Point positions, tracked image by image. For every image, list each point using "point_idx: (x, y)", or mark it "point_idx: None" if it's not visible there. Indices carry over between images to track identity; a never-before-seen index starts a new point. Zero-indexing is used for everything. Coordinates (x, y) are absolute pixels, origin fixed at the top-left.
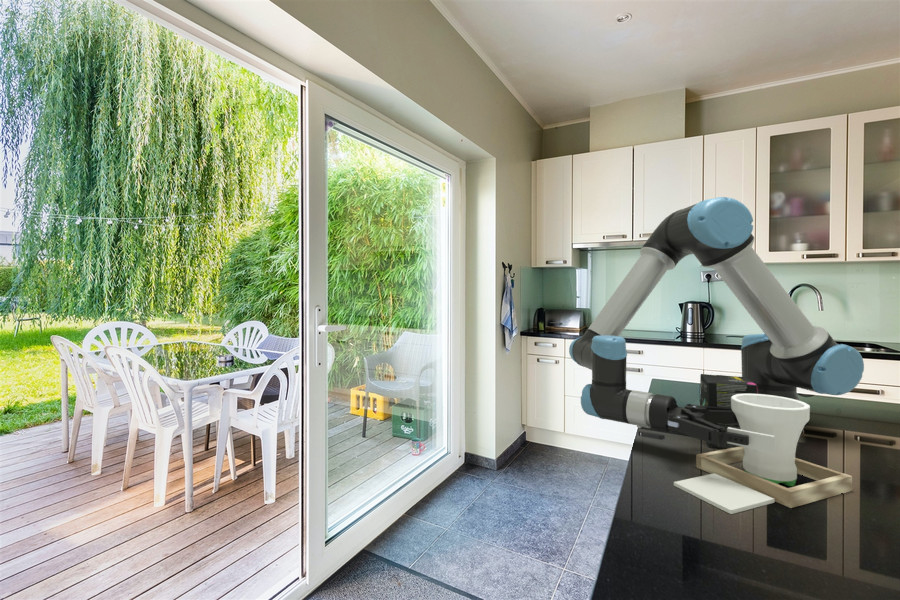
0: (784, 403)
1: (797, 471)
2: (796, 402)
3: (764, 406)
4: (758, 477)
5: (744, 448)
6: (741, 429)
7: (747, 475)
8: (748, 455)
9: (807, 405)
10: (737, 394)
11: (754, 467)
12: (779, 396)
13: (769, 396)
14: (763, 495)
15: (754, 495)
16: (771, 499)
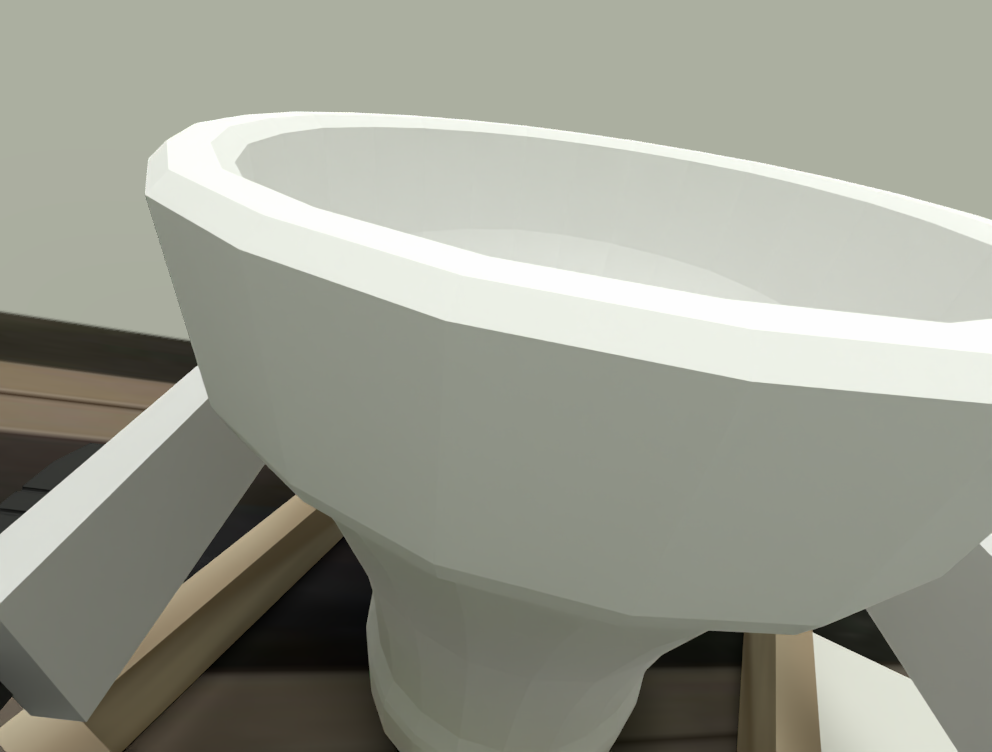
0: (346, 179)
1: (337, 534)
2: (433, 135)
3: (965, 213)
4: (788, 663)
5: (567, 726)
6: (662, 652)
7: (818, 729)
8: (619, 704)
9: (558, 130)
10: (445, 258)
11: (639, 691)
12: (279, 113)
13: (267, 137)
14: (818, 670)
15: (872, 711)
16: (822, 637)
